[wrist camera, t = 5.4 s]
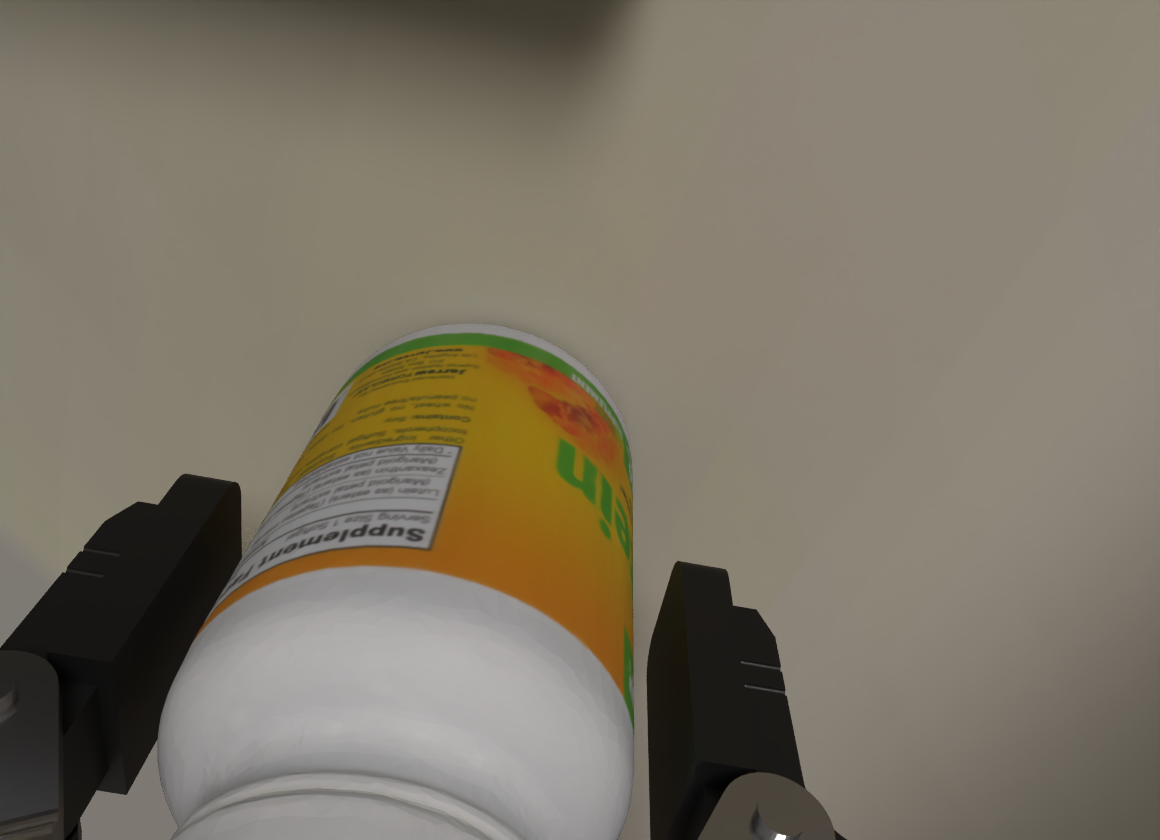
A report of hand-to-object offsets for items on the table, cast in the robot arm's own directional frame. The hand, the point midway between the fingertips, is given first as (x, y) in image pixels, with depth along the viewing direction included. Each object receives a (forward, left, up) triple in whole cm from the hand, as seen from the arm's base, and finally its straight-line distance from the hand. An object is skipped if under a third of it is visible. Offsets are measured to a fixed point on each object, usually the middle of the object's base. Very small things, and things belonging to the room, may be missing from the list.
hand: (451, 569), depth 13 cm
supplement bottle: (0, 0, -3) cm, 3 cm away
